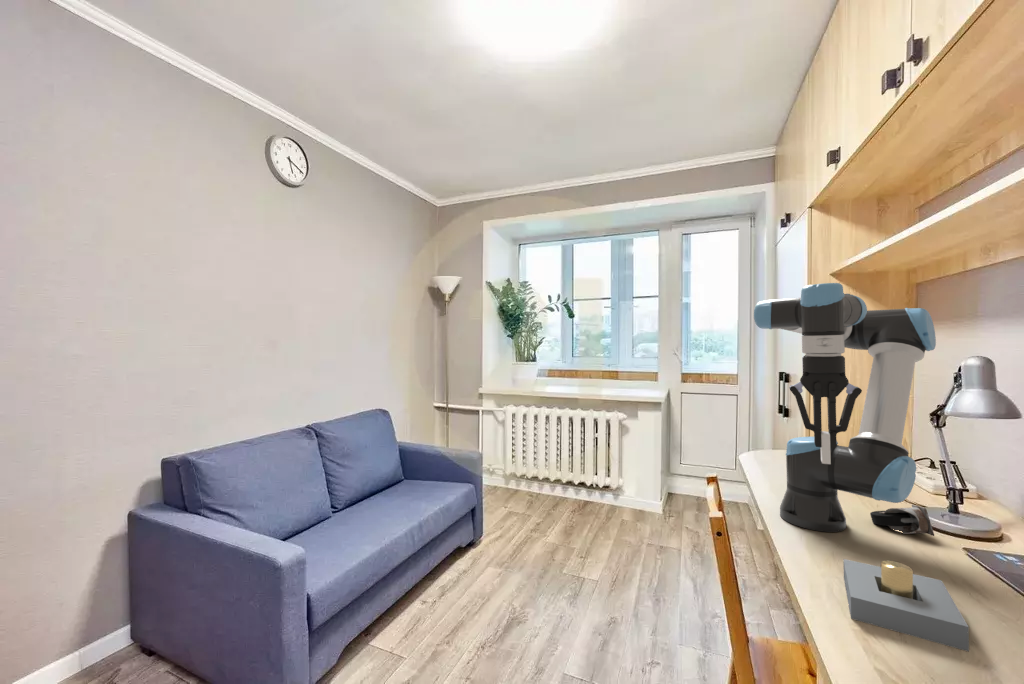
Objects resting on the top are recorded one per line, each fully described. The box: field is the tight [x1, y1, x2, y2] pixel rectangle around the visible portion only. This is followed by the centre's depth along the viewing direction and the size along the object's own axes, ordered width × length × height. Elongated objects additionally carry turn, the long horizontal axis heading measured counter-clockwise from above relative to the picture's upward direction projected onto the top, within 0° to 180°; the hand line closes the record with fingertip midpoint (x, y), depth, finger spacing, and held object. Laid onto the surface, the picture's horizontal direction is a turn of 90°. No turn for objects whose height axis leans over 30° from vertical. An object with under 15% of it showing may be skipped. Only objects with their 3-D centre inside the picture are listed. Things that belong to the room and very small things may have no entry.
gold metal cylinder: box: [880, 560, 914, 599], centre depth 80 cm, size 4×4×8 cm
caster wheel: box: [869, 503, 935, 537], centre depth 113 cm, size 7×11×10 cm
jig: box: [842, 558, 970, 652], centre depth 80 cm, size 16×15×4 cm
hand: (825, 462), depth 93 cm, fingers closed
